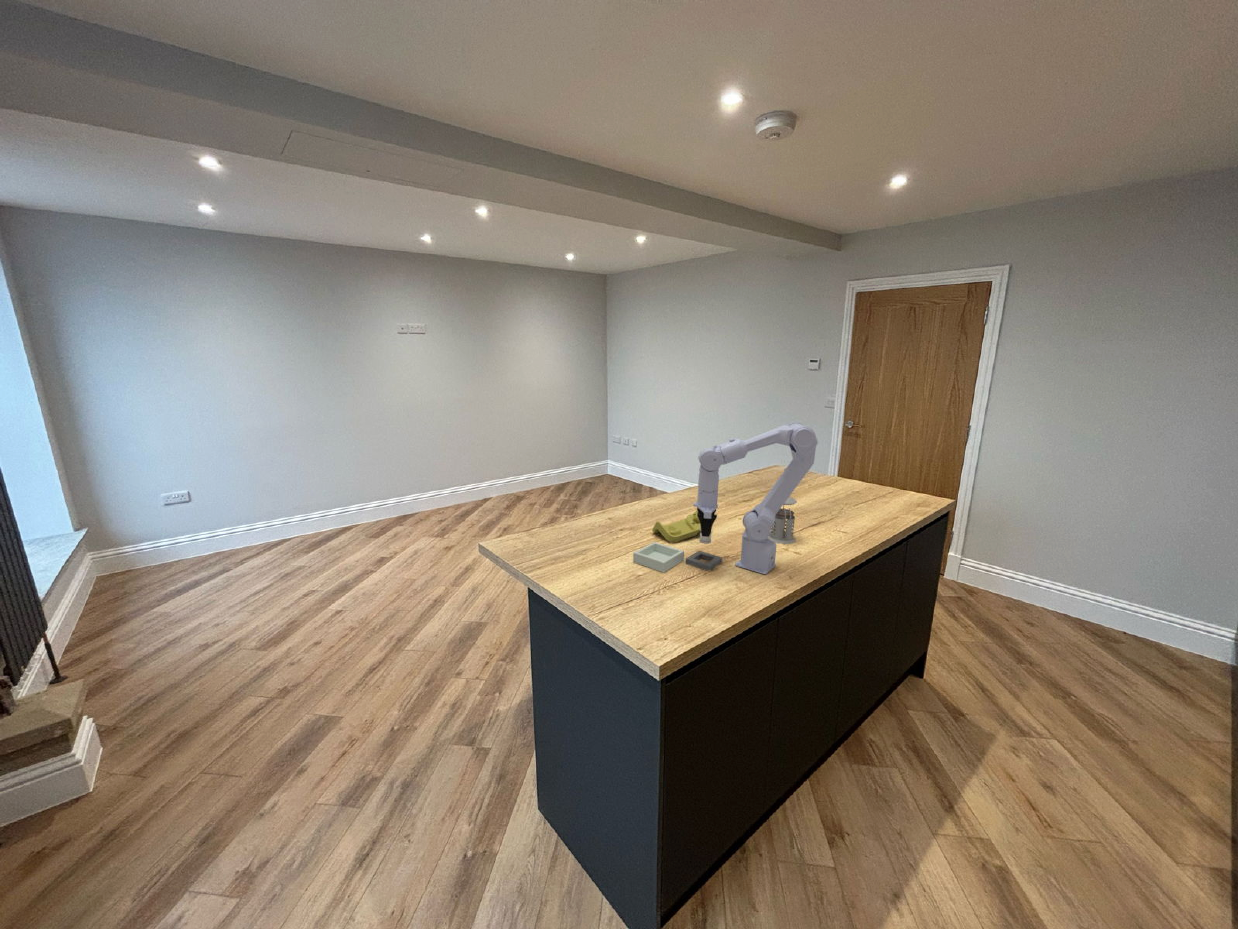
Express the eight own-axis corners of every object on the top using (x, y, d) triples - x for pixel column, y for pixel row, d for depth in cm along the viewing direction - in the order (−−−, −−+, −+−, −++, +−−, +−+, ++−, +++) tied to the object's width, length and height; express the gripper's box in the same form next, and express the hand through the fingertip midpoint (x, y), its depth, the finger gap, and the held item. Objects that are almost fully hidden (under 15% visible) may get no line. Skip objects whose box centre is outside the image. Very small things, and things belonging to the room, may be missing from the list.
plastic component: (672, 538, 151) (655, 518, 157) (666, 553, 155) (650, 533, 162) (716, 523, 161) (699, 505, 167) (710, 538, 165) (693, 519, 172)
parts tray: (683, 560, 140) (684, 551, 139) (663, 572, 132) (663, 563, 131) (654, 550, 147) (654, 541, 146) (633, 561, 138) (633, 552, 138)
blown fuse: (712, 541, 137) (714, 520, 136) (707, 544, 135) (708, 523, 133) (702, 538, 139) (703, 518, 138) (697, 541, 137) (698, 521, 135)
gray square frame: (722, 562, 139) (722, 557, 139) (709, 571, 133) (709, 566, 133) (698, 555, 144) (699, 550, 144) (685, 563, 138) (685, 558, 137)
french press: (791, 533, 163) (798, 465, 157) (800, 546, 151) (808, 473, 146) (763, 532, 163) (768, 464, 158) (770, 545, 152) (776, 472, 147)
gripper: (694, 482, 141) (692, 524, 144) (694, 495, 127) (691, 542, 130) (717, 483, 140) (715, 526, 143) (720, 497, 126) (717, 543, 129)
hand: (705, 533), depth 136 cm, fingers closed on blown fuse, 3 cm apart
